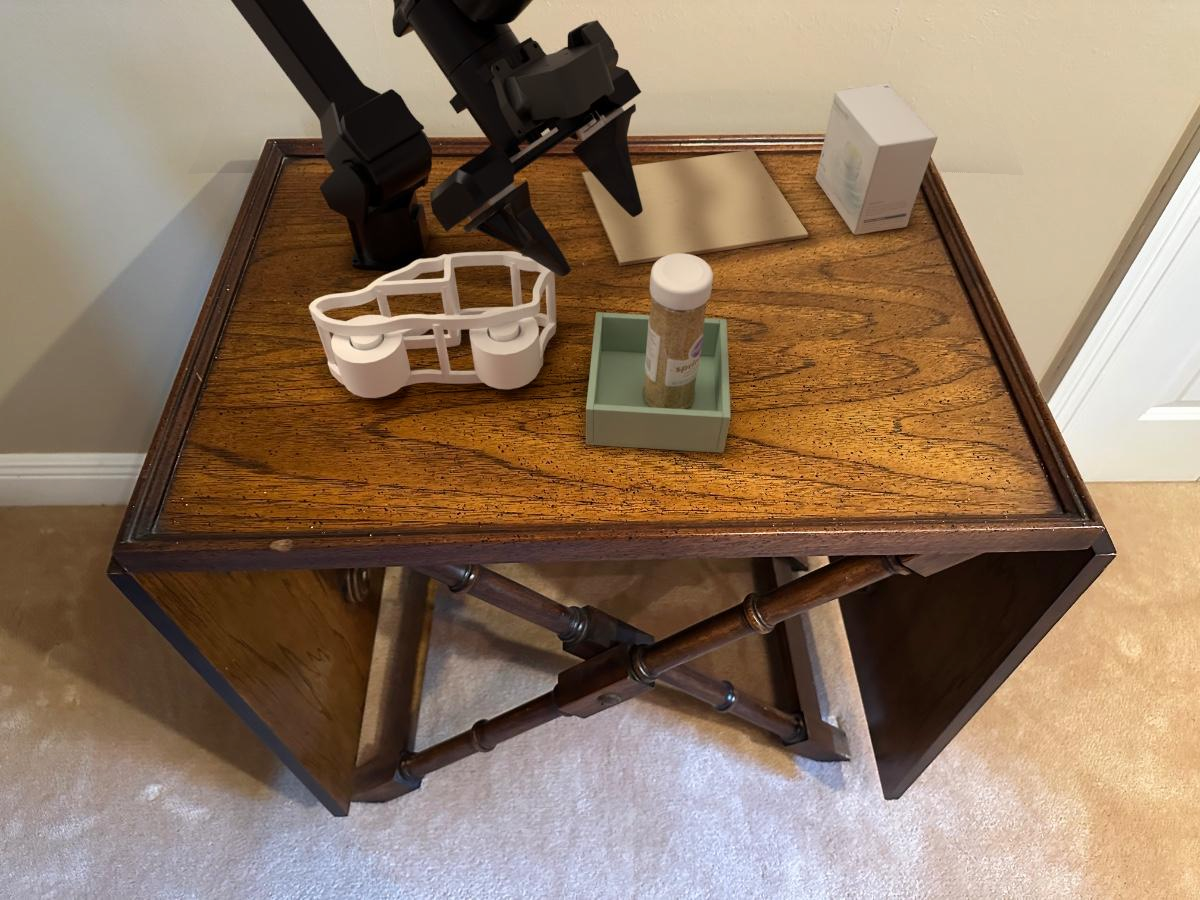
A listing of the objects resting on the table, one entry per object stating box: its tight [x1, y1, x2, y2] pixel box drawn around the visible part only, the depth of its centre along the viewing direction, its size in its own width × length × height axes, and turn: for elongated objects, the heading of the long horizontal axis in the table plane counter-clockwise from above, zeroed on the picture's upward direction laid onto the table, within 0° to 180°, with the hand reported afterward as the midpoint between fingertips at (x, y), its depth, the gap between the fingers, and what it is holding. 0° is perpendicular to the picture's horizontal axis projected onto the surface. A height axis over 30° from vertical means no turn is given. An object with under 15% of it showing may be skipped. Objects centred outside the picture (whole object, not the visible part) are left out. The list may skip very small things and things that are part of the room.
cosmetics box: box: [814, 82, 938, 236], centre depth 85 cm, size 10×6×10 cm, turn 14°
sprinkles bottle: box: [643, 253, 714, 409], centre depth 65 cm, size 5×5×13 cm
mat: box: [581, 149, 809, 267], centre depth 88 cm, size 20×16×1 cm
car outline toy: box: [308, 250, 557, 399], centre depth 70 cm, size 20×11×7 cm, turn 96°
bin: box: [585, 311, 732, 454], centre depth 69 cm, size 11×11×4 cm
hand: (603, 243), depth 63 cm, fingers open, 9 cm apart
